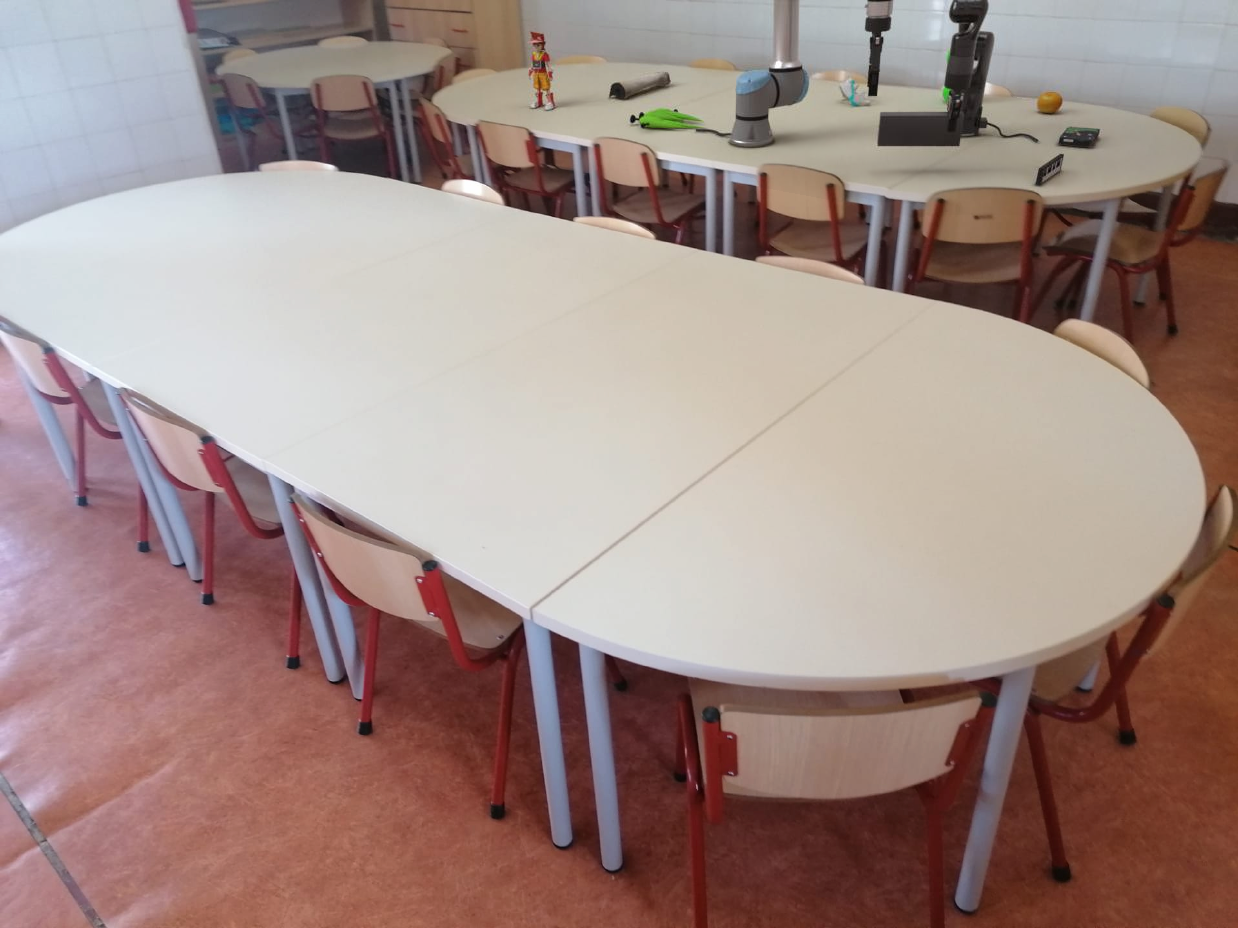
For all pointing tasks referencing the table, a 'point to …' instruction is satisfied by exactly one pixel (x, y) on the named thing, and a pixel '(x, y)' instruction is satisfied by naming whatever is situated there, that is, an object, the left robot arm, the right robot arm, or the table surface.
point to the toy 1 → (541, 71)
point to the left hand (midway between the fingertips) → (872, 91)
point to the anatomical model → (853, 93)
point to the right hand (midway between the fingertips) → (950, 129)
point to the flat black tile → (1049, 169)
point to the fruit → (1049, 102)
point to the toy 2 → (664, 119)
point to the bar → (918, 129)
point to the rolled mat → (638, 84)
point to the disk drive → (1079, 136)
